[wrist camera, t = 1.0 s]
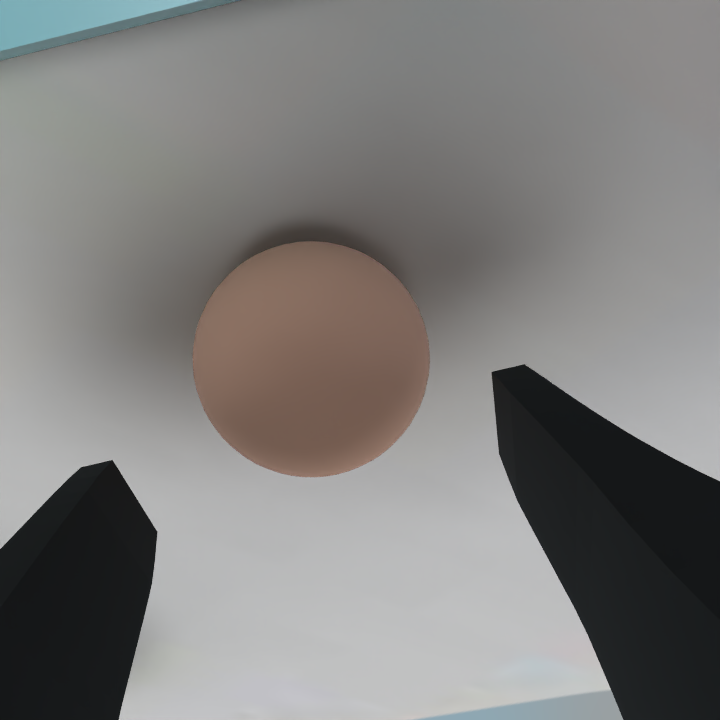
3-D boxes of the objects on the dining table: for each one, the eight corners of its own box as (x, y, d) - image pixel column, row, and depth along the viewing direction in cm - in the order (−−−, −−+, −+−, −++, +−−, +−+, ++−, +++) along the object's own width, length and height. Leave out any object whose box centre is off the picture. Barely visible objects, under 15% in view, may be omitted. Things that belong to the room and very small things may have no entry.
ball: (388, 187, 14) (436, 273, 9) (420, 365, 17) (468, 498, 12) (179, 238, 14) (119, 348, 9) (247, 405, 17) (228, 552, 12)
